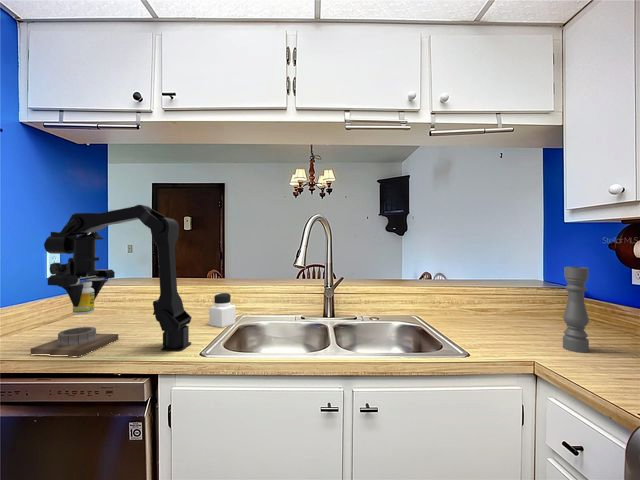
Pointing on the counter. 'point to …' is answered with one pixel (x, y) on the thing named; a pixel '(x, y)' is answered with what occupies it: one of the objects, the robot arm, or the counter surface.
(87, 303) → the supplement bottle
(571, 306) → the candle holder
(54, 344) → the brown base with ring
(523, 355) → the counter surface
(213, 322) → the medicine bottle
